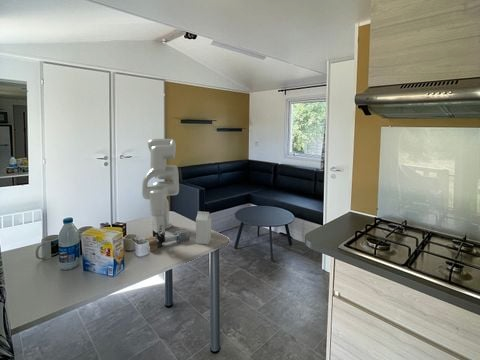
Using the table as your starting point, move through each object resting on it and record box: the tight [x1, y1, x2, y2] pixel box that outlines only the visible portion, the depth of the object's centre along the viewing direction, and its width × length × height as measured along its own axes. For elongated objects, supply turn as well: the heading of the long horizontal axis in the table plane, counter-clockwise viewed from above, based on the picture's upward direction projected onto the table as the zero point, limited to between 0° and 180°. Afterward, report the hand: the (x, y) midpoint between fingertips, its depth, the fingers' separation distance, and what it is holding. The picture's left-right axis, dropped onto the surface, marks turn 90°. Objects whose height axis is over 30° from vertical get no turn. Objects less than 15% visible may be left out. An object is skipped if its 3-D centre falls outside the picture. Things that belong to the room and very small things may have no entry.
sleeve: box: [174, 228, 190, 244], centre depth 168 cm, size 5×7×6 cm
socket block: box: [144, 235, 158, 252], centre depth 157 cm, size 7×4×6 cm, turn 37°
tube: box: [154, 233, 178, 248], centre depth 162 cm, size 4×17×7 cm, turn 127°
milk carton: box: [195, 210, 212, 245], centre depth 166 cm, size 7×7×19 cm
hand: (158, 239), depth 160 cm, fingers open, 9 cm apart
